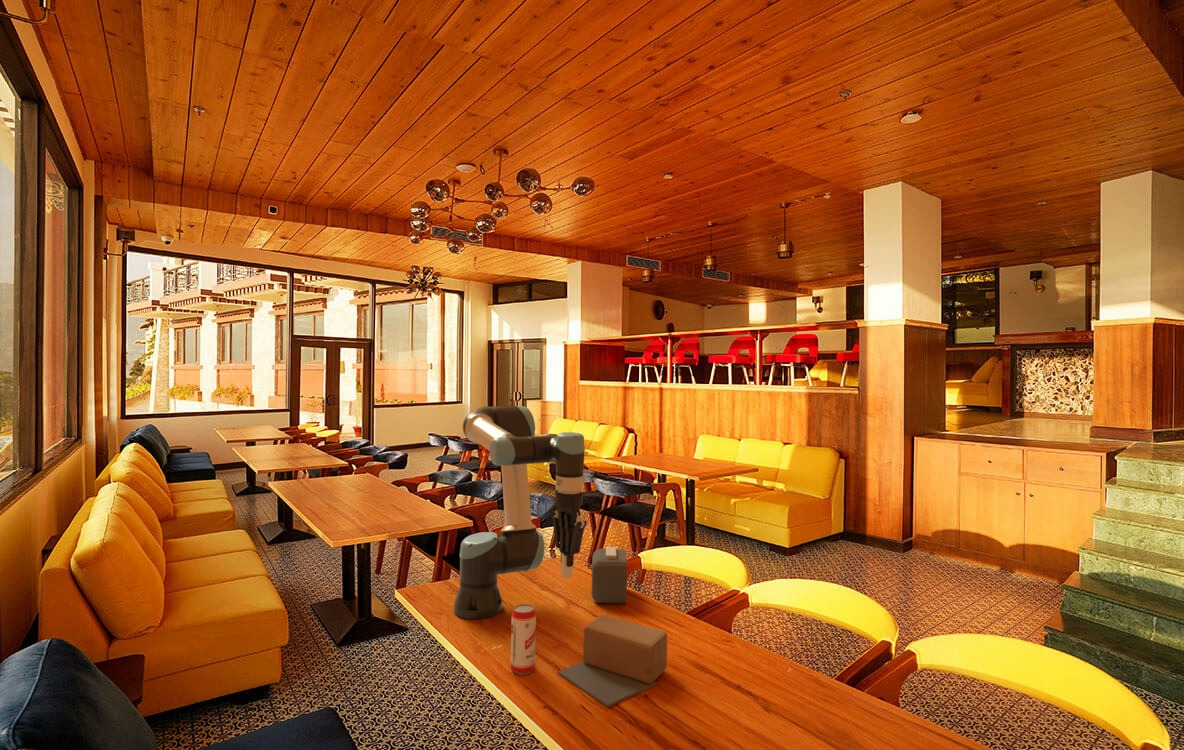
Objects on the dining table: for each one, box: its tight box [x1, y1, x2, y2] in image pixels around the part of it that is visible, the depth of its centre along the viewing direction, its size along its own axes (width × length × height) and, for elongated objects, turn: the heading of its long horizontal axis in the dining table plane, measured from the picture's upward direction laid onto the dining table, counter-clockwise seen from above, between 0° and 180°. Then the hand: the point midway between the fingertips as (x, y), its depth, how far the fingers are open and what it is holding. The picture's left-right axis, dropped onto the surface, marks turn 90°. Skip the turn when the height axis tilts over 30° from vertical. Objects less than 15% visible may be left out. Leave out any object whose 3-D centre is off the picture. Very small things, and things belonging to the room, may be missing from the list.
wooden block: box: [582, 614, 668, 684], centre depth 159 cm, size 10×10×20 cm
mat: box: [557, 660, 657, 708], centre depth 154 cm, size 19×16×1 cm
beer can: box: [510, 603, 537, 676], centre depth 158 cm, size 6×6×16 cm
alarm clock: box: [591, 546, 628, 605], centre depth 208 cm, size 16×11×16 cm
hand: (566, 576), depth 167 cm, fingers closed
